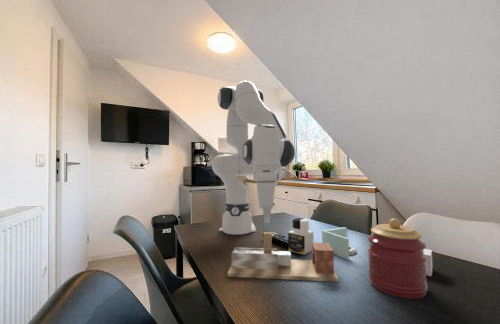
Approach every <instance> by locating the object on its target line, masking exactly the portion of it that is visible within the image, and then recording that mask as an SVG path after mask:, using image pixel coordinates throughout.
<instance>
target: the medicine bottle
mask: <svg viewBox="0 0 500 324" xmlns="http://www.w3.org/2000/svg"><path fill="white" fill-rule="evenodd" d="M309 222H310V221H309V219H308V218H305V217H304V218H303V217H297V218H296V217H295V218H293V219H292V230H289V231H288V232H287V243H288V245H287V247H288V250H287V251H289V252H292V253H297V254H300V255H307V254H309V253H312V243H315V241H314V231H313V230H310V229H309V228H310V224H309Z"/></svg>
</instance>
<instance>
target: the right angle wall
mask: <svg viewBox="0 0 500 324" xmlns="http://www.w3.org/2000/svg"><path fill="white" fill-rule="evenodd" d="M321 237H322V238H321V243H328V244H329V245H330V246H331V248H332V249H333V251H334V255H335V254H336V255H335V256H338V257H340V258H343V259H344V260H349V259H350V256H353V255H354V256H355V255H356V248H355V247H354V246H351V245H349V238H348V228H347V227H337V228H331V229H330V228H329V229H324V230H321Z"/></svg>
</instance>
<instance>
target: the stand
mask: <svg viewBox="0 0 500 324" xmlns="http://www.w3.org/2000/svg"><path fill="white" fill-rule="evenodd" d="M234 250H259V251H264V247H262V248H261V247H259V248H258V247H234V249H233V251H234ZM233 251H232V252H231V265H230V267H229V269H228V272H227V277H228V278H229V277H231V278H252V279H255V278H256V279H271V280H273V279H275V280H294V281H295V280H297V281H315V282H317V281H318V282H333V283H334V282H336V283H339V276H338V275H337V273H336V271H335V261H334V260H335V258H334V257H335V254H334V251H333V249H332V248H331V246H330V245H329V244H328V243H322V242H314V243H312V251H311V259H293V258H291V266H278V254H264V253H234V252H233ZM272 251H278V248H272Z"/></svg>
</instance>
